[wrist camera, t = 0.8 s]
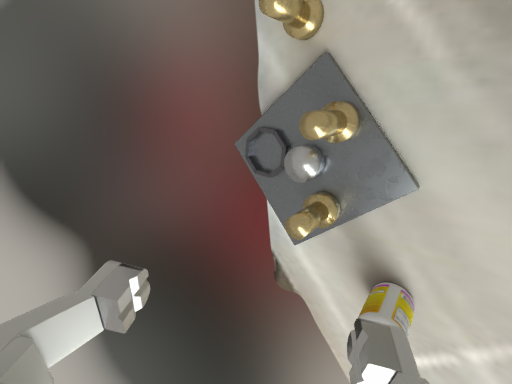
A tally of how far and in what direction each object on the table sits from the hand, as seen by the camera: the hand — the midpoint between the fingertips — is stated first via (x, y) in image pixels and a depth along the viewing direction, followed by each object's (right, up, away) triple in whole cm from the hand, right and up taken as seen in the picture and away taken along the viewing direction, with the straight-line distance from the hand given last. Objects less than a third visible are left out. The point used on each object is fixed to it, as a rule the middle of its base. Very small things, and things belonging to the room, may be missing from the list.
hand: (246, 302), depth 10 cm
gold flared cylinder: (+8, +31, +31) cm, 45 cm away
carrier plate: (+10, +10, +37) cm, 39 cm away
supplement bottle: (+23, -14, +34) cm, 44 cm away
